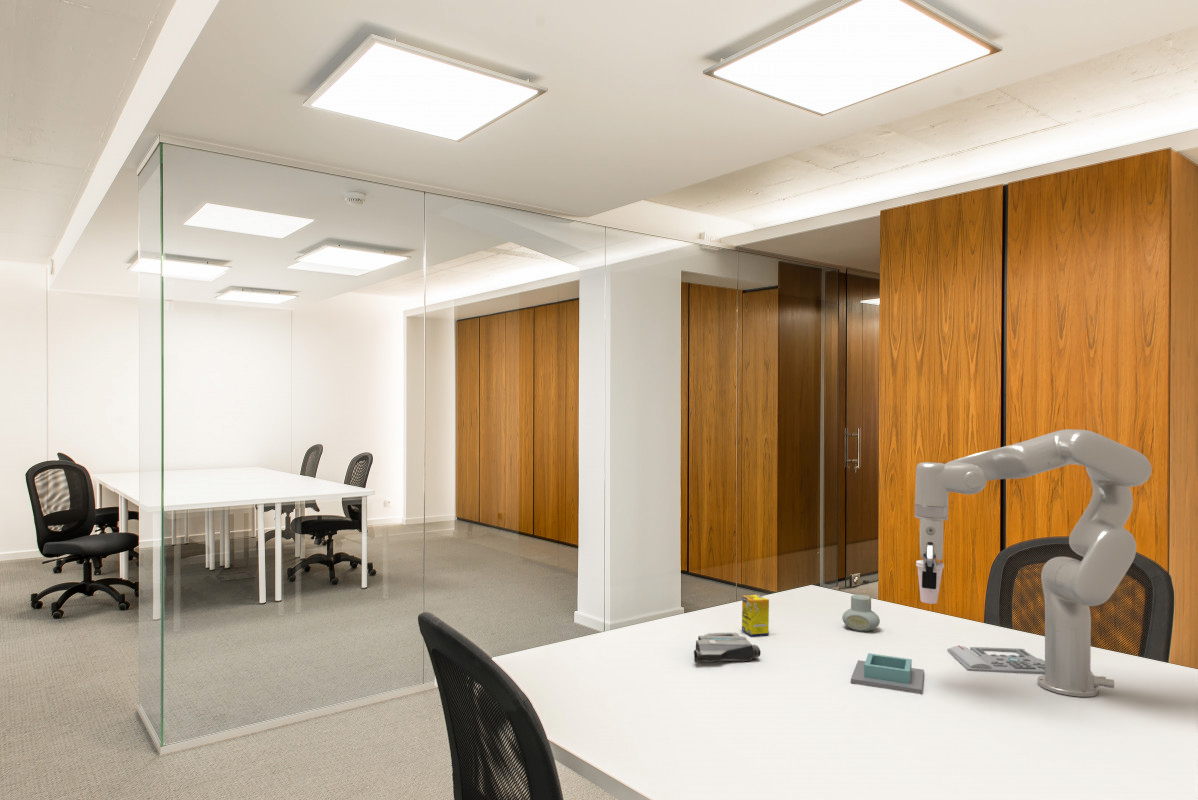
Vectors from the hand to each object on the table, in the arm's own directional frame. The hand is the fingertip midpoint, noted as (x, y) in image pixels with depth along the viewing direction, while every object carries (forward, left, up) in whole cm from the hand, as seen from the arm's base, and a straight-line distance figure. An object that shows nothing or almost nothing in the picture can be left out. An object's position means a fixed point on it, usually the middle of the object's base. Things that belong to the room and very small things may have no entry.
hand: (929, 585), depth 187 cm
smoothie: (0, 0, -4) cm, 4 cm away
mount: (+9, 0, -24) cm, 26 cm away
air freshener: (+20, -44, -24) cm, 54 cm away
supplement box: (+48, -23, -24) cm, 59 cm away
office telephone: (-17, -29, -25) cm, 42 cm away
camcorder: (+51, +2, -25) cm, 57 cm away
